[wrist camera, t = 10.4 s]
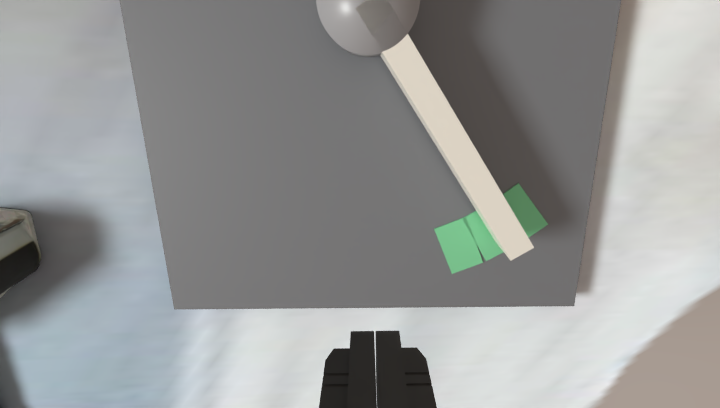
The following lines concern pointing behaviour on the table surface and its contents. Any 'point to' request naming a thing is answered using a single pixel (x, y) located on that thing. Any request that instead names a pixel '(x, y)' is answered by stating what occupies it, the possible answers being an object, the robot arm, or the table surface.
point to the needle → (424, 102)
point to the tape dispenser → (17, 247)
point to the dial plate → (366, 152)
